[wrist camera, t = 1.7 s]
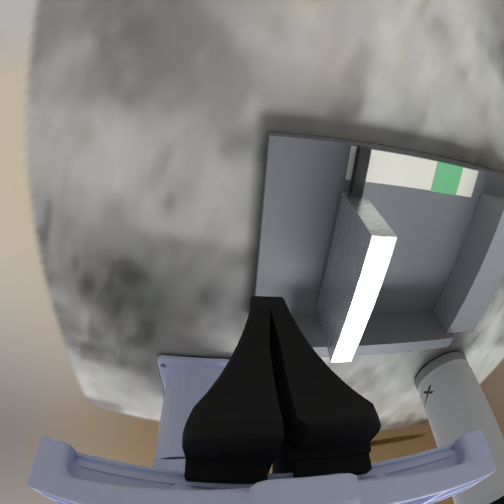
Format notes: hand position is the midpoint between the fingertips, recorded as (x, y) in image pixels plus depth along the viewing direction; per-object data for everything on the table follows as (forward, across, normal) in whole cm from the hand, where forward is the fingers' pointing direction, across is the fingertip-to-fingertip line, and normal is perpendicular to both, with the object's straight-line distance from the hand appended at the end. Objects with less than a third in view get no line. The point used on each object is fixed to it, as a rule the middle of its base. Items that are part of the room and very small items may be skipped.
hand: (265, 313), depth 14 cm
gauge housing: (+6, -8, 0) cm, 11 cm away
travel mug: (+6, -20, +15) cm, 26 cm away
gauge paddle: (+5, -5, -1) cm, 7 cm away
